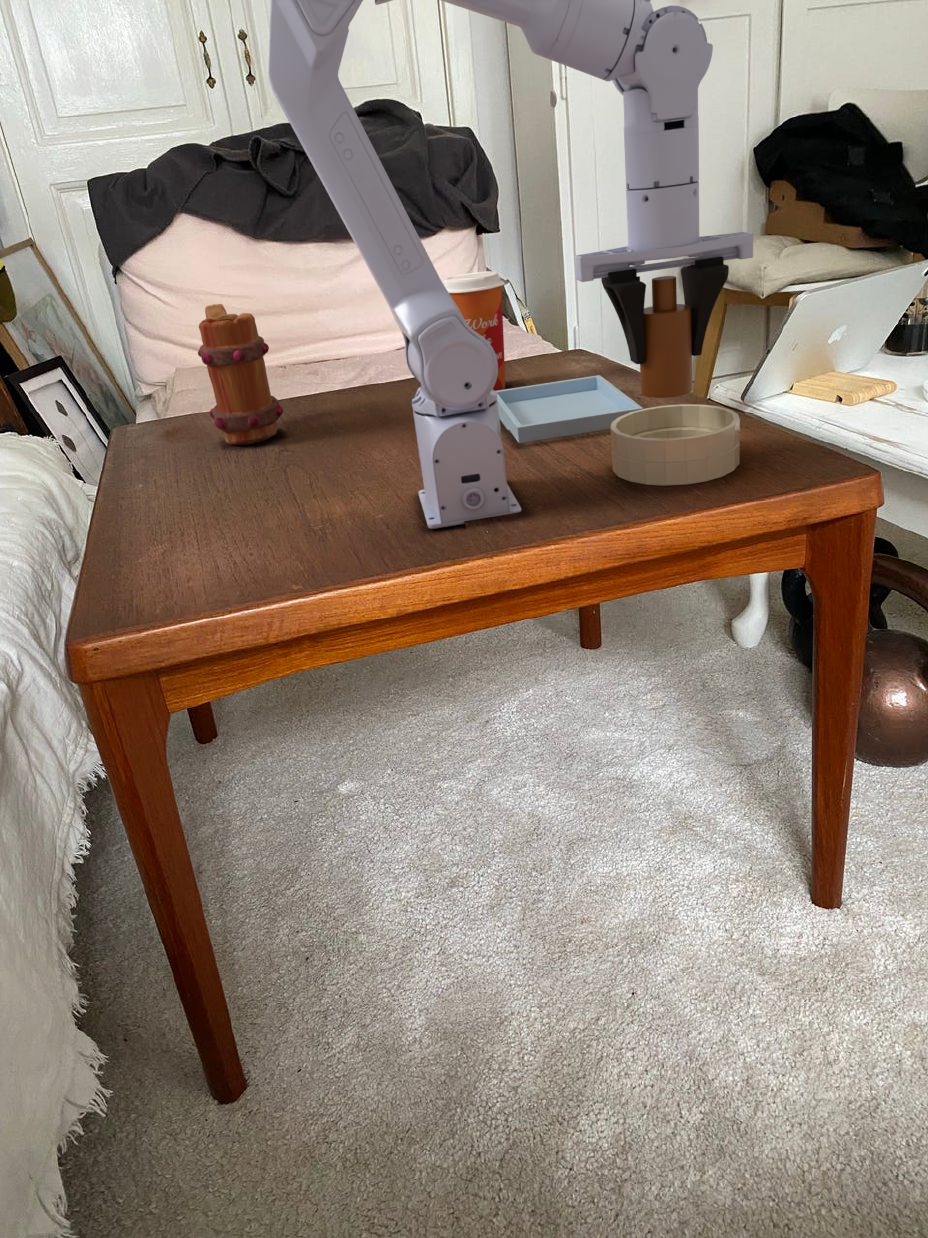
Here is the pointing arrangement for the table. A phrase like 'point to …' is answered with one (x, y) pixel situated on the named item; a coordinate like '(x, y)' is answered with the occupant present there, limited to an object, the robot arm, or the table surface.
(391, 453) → the table surface
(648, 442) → the bowl
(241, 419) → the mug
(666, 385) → the bottle
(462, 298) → the paper cup
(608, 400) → the tray
